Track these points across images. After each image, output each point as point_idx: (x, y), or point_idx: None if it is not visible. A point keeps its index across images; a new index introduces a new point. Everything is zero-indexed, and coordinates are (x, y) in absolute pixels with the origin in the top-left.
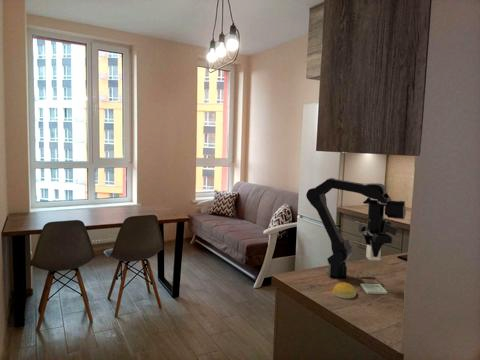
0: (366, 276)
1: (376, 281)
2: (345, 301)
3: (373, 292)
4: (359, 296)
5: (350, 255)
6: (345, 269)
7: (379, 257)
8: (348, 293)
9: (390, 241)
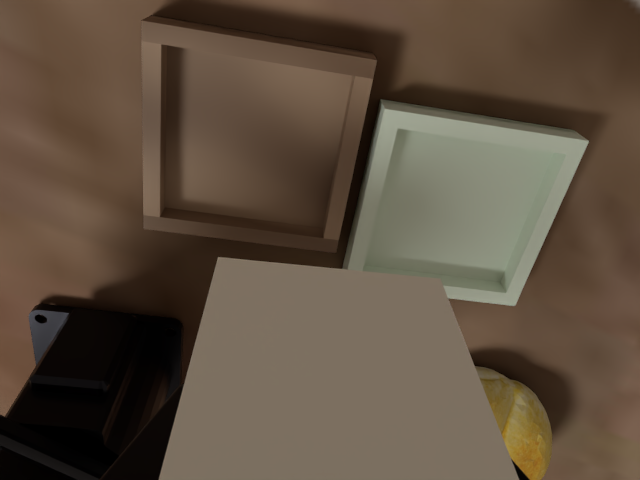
0: (150, 144)
1: (250, 64)
2: (555, 445)
3: (531, 255)
4: (518, 350)
5: (18, 477)
6: (118, 374)
7: (451, 334)
8: (549, 458)
9: None
